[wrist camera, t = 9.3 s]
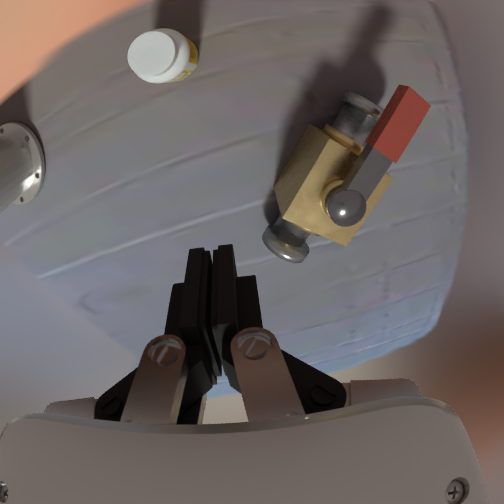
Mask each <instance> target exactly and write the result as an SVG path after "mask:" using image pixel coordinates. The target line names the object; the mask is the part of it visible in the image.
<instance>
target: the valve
mask: <svg viewBox="0 0 504 504" xmlns="http://www.w3.org/2000/svg"><path fill="white" fill-rule="evenodd" d="M342 101H344V102H345V104H344V106H343V107H342V109H341V111H340V113H339V114H338V116H337V118H336V119H335V121H334V123H333V125H332V126H331V125H329V124H327V123H326V124H325V126H324V128H323V130H321V129H319V128H318V127H316V126H314V125H312V124H310V123H309V125H308V127H307V129H306V130H305V132H304V134H303V136H302V137H301V139H300V141H299V143H298V145H297V146H296V148H295V150H294V152H293V153H292V155H291V157H290V159H289V160H288V162H287V164H286V166H285V168H284V169H283V171H282V173H281V175H280V176H279V178H278V180H277V182H276V184H275V185H274V191H275V194H276V198H277V201H278V205H279V206H278V207H279V210H280V212H281V213H280V215H279V216H278V218H277V220H276V221H275V223H274V224H271V225H269V226H268V227H267V228H266V230H265V232H264V233H263V235H262V239H263V242H264V244H265V245H266V247H267V248H268V249H269V250H270V251H271V252H272V253H274V254H275V255H276V256H278V257H280V258H281V259H283V260H286V261H288V262H291V263H301V262H303V261H304V259H305V258H306V256H307V255H308V254H309V247H308V245H307V243H306V242H305V241H306V239H307V238H308V236H309V235H310V234H313V235H317V236H324V237H326V238H328V239H330V240H332V241H335V242H337V243H339V244H341V245H343V246H347V245H348V243H349V242H350V240H351V239H352V238H353V236H354V235H355V233H356V232H357V231H358V229H359V228H360V226H361V225H362V224H363V222H364V221H365V219H366V218H367V216H368V215H369V214H370V212H371V211H372V209H373V208H374V206H375V205H376V203H377V202H378V200H379V199H380V197H381V196H382V194H383V193H384V191H385V190H386V188H387V187H388V185H389V184H390V182H391V181H392V179H393V178H392V177H390V176H389V175H388V174H387V173H385V174H384V176H383V177H382V179H381V180H380V182H379V184H378V185H377V187H376V188H375V190H374V191H373V193H372V194H371V196H370V197H369V199H368V200H367V201H366V212H365V214H364V216H363V218H362V219H361V220H360V221H359V222H358V223H356V224H355V225H352V226H348V227H342V226H339V225H337V224H335V223H334V222H333V221H332V219H331V218H330V216H329V214H328V212H327V211H326V208H325V199H326V196H327V194H328V193H329V191H330V190H331V189H333V188H334V187H336V186H338V185H341V184H342V182H343V181H344V179H345V178H346V176H347V175H348V173H349V171H350V170H351V168H352V167H353V165H354V163H355V162H356V160H357V159H358V157H359V155H360V154H361V152H362V151H363V149H364V147H365V146H366V144H367V143H366V142H365V141H366V139H367V138H368V136H369V134H370V133H371V131H372V129H373V128H374V126H375V124H376V123H377V121H378V119H379V118H380V116H381V114H382V113H383V111H384V110H383V109H382V108H381V107H379V106H378V105H376V104H375V103H373V102H372V101H370V100H368V99H366V98H365V97H363V96H361V95H359V94H357V93H355V92H352V91H349V90H347V91H346V93H345V94H344V96H343V98H342Z"/></svg>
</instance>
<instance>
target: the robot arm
mask: <svg viewBox="0 0 504 504" xmlns="http://www.w3.org/2000/svg"><path fill="white" fill-rule="evenodd" d="M44 175H45V162H44V155H43V151H42V148H41V145H40V143H39V141H38V139H37V137H36V136H35V134H34V133H33V132H32V131H31V129H30V128H28V127H27V126H26V125H24V124H22V123H19V122H8V123H6V124H4V125H2V126H0V213H1V212H2V211H3V210H5V209H6V208H7V207H8V206H9V205H10V204H11V203H12V204H18V205H21V204H25V203H27V202H29V201H30V200H32V199H33V198H34V197H35V196H36V195H37V194H38V193H39V191H40V189H41V187H42V184H43V181H44ZM222 366H223V369H224V372H225V375H226V376H227V377H228V380H229V383H230V386H231V387H233V388H234V389H235V390H237V391H238V392H240V393H241V394H242V398H243V402H244V406H245V410H246V414H247V417H248V421H249V422H241V423H226V424H202V421H203V416H204V410H205V405H206V399H207V394H206V393H207V392H208V391H209V390H210V389H211V388H212V387H213V385H214V384H217V376H222ZM0 504H489V501H488V497H487V493H486V489H485V484H484V480H483V477H482V473H481V470H480V466H479V463H478V460H477V457H476V454H475V452H474V449H473V446H472V444H471V441H470V439H469V437H468V434H467V432H466V430H465V428H464V426H463V424H462V422H461V421H460V419H459V417H458V416H457V414H456V413H455V412H454V410H453V409H452V408H451V407H449V406H448V405H447V404H446V403H444V402H442V401H439V400H435V399H431V398H424V397H421V393H420V390H419V387H418V386H417V385H416V384H415V382H413V381H411V380H409V379H403V378H399V379H382V380H351V381H350V383H340V382H339V381H337V380H336V379H334V378H332V377H330V376H328V375H327V374H325V373H323V372H321V371H319V370H317V369H315V368H314V367H312V366H310V365H308V364H306V363H304V362H303V361H301V360H299V359H297V358H295V357H294V356H292V355H290V354H288V353H287V352H285V351H283V350H281V349H280V347H279V344H278V341H277V339H276V337H275V336H274V334H273V333H271V332H270V331H269V330H267V329H264V328H263V326H262V318H261V311H260V304H259V297H258V290H257V283H256V276H255V275H252V276H243V277H237V272H236V265H235V258H234V251H233V245H232V244H229V245H220V246H218V250H213V264H212V259H211V254H210V251H205V249H204V248H194V249H190V250H189V255H188V261H187V267H186V274H185V280H184V283H177V284H174V285H173V287H172V292H171V298H170V303H169V309H168V315H167V321H166V327H165V333H164V335H161V336H158V337H156V338H154V339H152V340H151V341H150V342H149V343H148V344H147V345H146V347H145V349H144V351H143V354H142V357H141V360H140V363H139V365H138V367H137V368H136V369H135V370H133V371H132V372H131V373H130V374H128V375H127V376H126V377H125V378H123V379H122V380H121V381H119V382H118V383H117V384H115V385H114V386H113V387H112V388H110V389H109V390H107V391H106V392H105V393H104V394H102V396H100V397H99V399H95V398H94V397H90V398H82V399H75V400H67V401H58V402H53V403H50V404H49V405H48V406H47V407H46V409H45V410H44V413H32V414H27V415H23V416H19V417H17V418H15V419H13V420H11V421H10V422H9V423H7V424H6V426H5V427H4V429H3V431H2V434H1V436H0Z"/></svg>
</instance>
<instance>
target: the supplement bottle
mask: <svg viewBox="0 0 504 504" xmlns="http://www.w3.org/2000/svg"><path fill="white" fill-rule="evenodd" d="M198 59H199V56H198V51H197V48H196V46H195V45H194V44H193V43H192V41H190V40H189V39H187V38H186V37H185V36H183V35H182V34H181V33H179V32H177V31H175V30H172V29H167V28H161V29H155V30H152V31H149V32H146V33H143V34H141V35H140V36H138V37H137V38H136V39H135V40H134V41H133V42H132V44H131V45H130V48H129V50H128V63H129V65H130V67H131V69H132V70H133V71H134V72H135V73H136V74H137V75H138V76H139V77H140V78H141V79H143V80H145V81H147V82H151V83H166V82H175V81H180V80H182V79H184V78H186V77H188V76H189V75H190V74H191V73H192V72H193V71H194V70H195V68H196V66H197V64H198Z"/></svg>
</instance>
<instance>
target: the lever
mask: <svg viewBox="0 0 504 504" xmlns="http://www.w3.org/2000/svg"><path fill="white" fill-rule="evenodd" d="M429 108H430V105H429V104H428V103H427V102H426V101H425V100H424V99H423V98H422V97H421V96H420V95H418V94H417V93H416V92H415V91H414V90H413V89H412V88H410V87H409V86H404V85H399V86H398V87H397V89H396V91H395V92H394V94H393V96H392V98H391V99H390V101H389V103H388V104H387V106H386V108H385V109H384V111H383V113H382V114H381V116H380V118H379V119H378V121H377V123H376V124H375V126H374V128H373V129H372V131H371V133H370V134H369V136H368V138H367V139H366V141H365V142H366V143H367V144H366V146H365V147H364V149H363V151H362V152H361V154H360V155H359V157H358V159H357V160H356V162H355V163H354V165H353V167H352V168H351V170H350V171H349V173H348V175H347V176H346V178H345V179H344V181H343V182H342V184H341V185H338V186H336V187H334V188H333V189H331V190H330V191H329V193H328V194H327V196H326V199H325V208H326V211H327V212H328V214H329V216H330V218H331V219H332V221H333V222H334V223H335V224H337V225H339V226H342V227H348V226H352V225H355V224H356V223H358V222H359V221H360V220H361V219H362V218H363V216H364V214H365V212H366V201H367V200H368V199H369V197H370V196H371V194H372V193H373V191H374V190H375V188H376V187H377V185H378V184H379V182H380V180H381V179H382V177H383V176H384V174H385V173H386V171H387V170H388V168H389V167H390V165H391V163H392V162H393V161H394V162H395V163H397V161H398V159H399V158H400V156H401V155H402V153H403V152H404V150H405V148H406V147H407V145H408V143H409V142H410V140H411V139H412V137H413V135H414V134H415V132H416V130H417V129H418V127H419V125H420V124H421V122H422V120H423V118H424V117H425V115H426V113H427V112H428V110H429Z"/></svg>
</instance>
